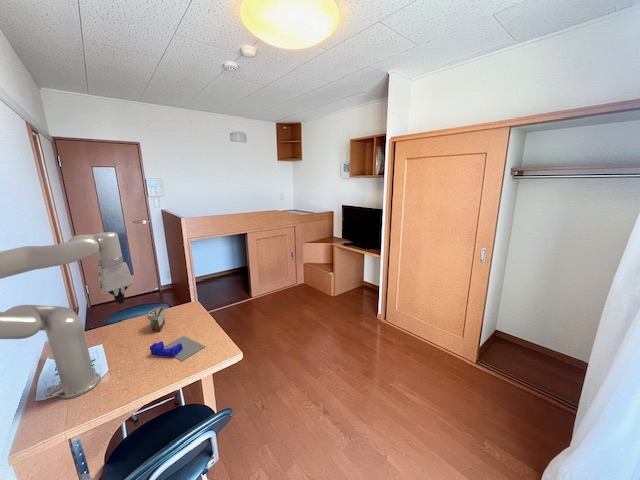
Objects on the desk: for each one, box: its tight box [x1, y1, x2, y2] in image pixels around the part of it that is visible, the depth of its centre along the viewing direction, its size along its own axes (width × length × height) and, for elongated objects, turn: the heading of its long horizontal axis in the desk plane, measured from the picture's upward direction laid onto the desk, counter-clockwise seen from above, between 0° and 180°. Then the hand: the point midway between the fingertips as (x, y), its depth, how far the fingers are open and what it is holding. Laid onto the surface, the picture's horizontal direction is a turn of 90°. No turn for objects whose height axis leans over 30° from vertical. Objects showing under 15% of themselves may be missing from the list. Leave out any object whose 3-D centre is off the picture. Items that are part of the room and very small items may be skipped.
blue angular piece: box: [149, 341, 183, 358], centre depth 122 cm, size 12×4×6 cm
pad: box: [164, 335, 206, 362], centre depth 126 cm, size 12×18×1 cm, turn 59°
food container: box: [147, 306, 166, 333], centre depth 142 cm, size 12×6×10 cm, turn 17°
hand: (120, 302), depth 111 cm, fingers closed
